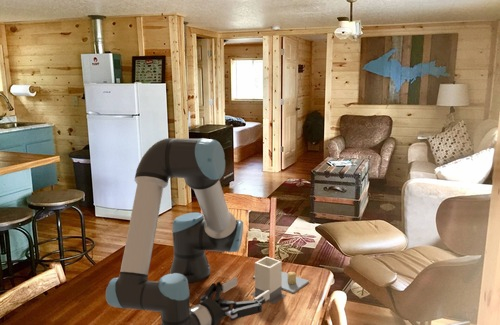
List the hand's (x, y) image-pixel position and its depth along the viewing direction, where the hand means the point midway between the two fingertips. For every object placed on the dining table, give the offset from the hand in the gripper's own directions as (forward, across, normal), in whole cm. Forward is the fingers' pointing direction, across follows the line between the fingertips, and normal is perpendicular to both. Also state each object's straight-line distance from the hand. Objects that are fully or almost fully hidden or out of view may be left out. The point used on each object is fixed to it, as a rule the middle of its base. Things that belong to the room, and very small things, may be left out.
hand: (252, 287), depth 133 cm
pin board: (+20, -3, -7) cm, 21 cm away
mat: (+9, 0, -7) cm, 11 cm away
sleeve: (+9, 0, -6) cm, 11 cm away
